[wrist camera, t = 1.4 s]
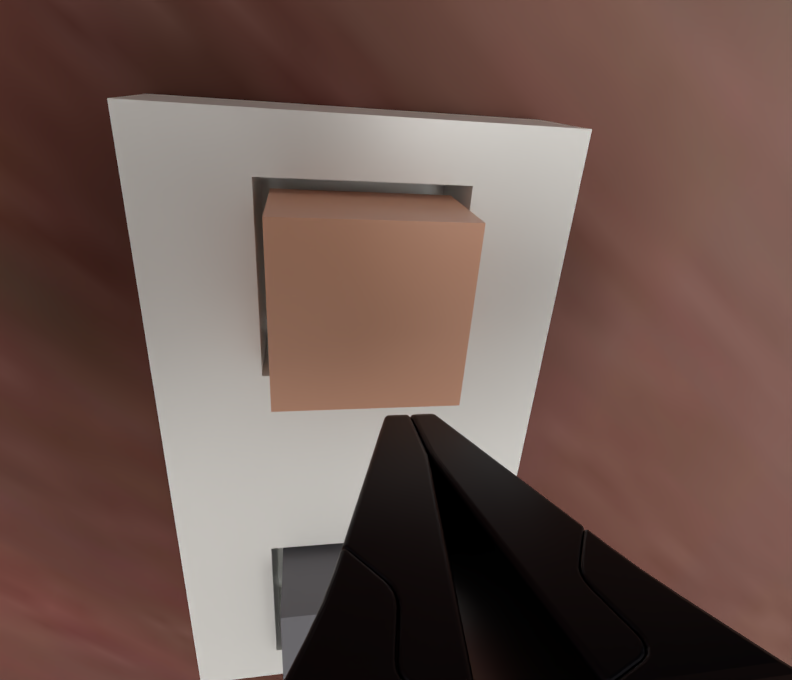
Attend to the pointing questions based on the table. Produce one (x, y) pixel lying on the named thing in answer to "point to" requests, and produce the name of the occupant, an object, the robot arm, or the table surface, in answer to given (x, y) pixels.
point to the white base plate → (247, 321)
